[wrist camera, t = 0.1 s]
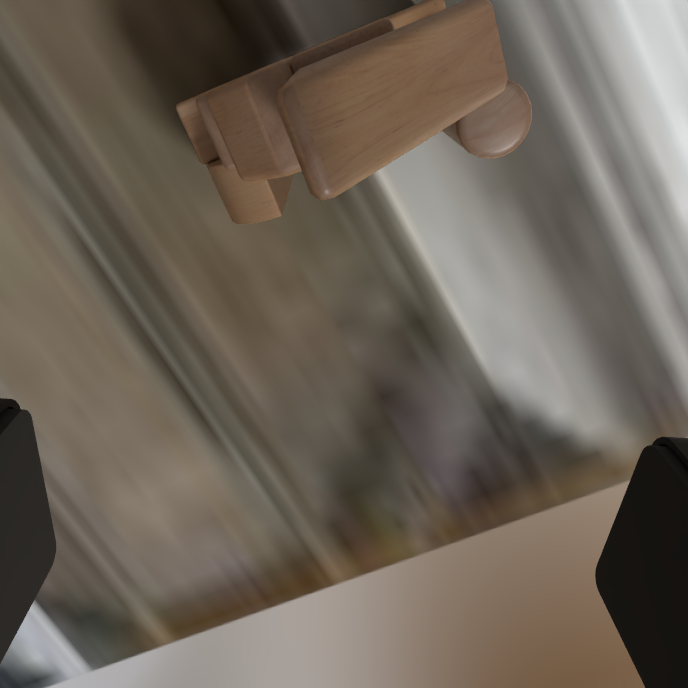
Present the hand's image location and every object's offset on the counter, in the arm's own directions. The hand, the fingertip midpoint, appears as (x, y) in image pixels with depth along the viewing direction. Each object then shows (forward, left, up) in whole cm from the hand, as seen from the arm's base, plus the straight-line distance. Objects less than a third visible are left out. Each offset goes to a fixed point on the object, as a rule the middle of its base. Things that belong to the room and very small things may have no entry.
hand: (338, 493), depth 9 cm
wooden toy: (-3, 0, -31) cm, 32 cm away
